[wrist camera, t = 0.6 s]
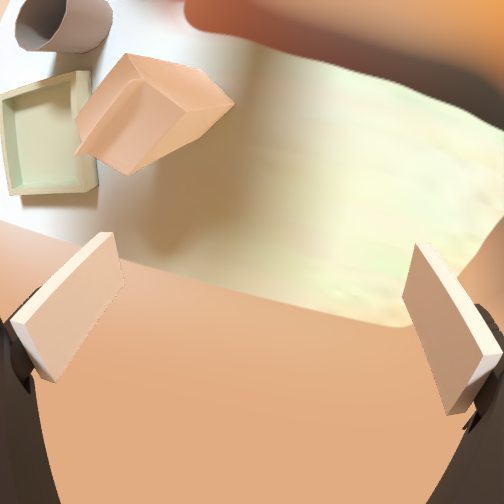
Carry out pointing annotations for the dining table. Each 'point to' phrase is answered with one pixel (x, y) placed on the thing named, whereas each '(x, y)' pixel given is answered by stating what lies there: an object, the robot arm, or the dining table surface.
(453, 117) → the dining table surface
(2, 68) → the dining table surface
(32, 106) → the bin
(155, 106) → the milk
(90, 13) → the cup
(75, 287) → the robot arm
